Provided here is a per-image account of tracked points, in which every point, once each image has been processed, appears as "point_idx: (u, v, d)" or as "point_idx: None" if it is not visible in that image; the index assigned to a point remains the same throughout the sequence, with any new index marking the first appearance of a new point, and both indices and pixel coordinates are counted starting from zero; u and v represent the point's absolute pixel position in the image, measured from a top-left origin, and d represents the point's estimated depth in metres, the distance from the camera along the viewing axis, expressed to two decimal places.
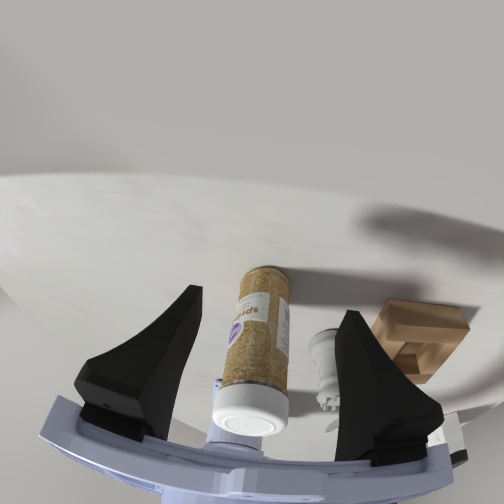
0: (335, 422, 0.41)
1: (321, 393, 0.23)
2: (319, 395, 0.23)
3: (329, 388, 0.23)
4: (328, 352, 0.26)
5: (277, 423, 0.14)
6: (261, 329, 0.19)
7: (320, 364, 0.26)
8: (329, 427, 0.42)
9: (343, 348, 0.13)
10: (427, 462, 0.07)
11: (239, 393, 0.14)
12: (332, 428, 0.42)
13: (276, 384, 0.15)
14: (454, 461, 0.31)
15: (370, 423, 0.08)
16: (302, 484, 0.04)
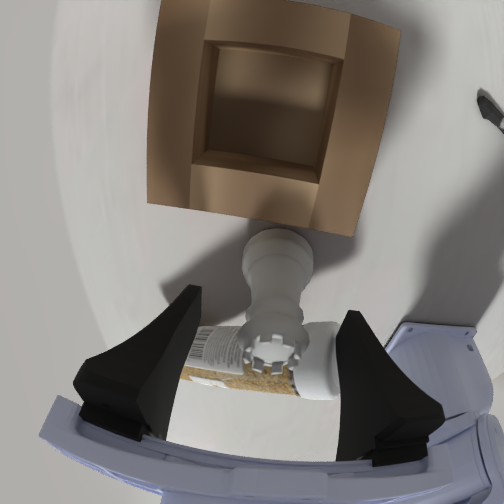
0: None
1: None
2: None
3: (242, 346, 0.13)
4: (251, 287, 0.16)
5: (329, 358, 0.13)
6: (233, 385, 0.16)
7: None
8: None
9: (344, 348, 0.13)
10: (427, 462, 0.07)
11: (315, 399, 0.14)
12: None
13: (286, 374, 0.14)
14: None
15: (371, 423, 0.08)
16: (302, 484, 0.04)
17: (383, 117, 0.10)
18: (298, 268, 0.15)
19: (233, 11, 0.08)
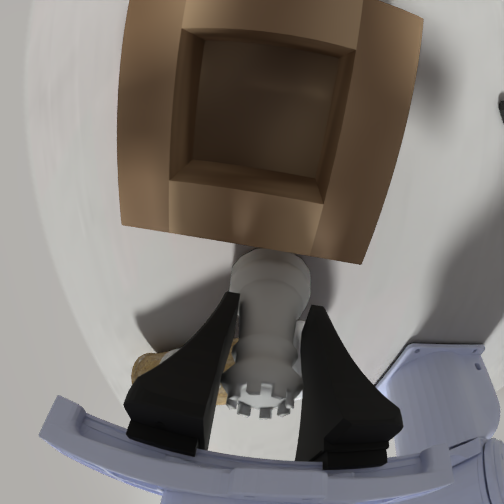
0: None
1: None
2: None
3: None
4: (239, 315, 0.14)
5: (300, 355, 0.14)
6: None
7: None
8: None
9: (306, 344, 0.13)
10: (427, 462, 0.07)
11: (296, 399, 0.14)
12: None
13: None
14: None
15: (322, 423, 0.08)
16: (302, 484, 0.04)
17: (403, 123, 0.08)
18: (293, 296, 0.13)
19: None
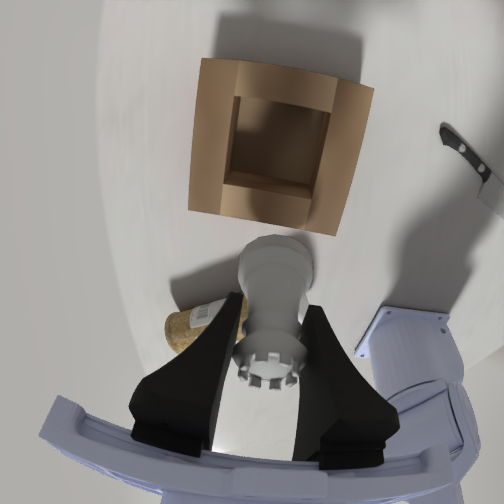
0: None
1: None
2: None
3: None
4: None
5: None
6: None
7: None
8: None
9: (303, 344, 0.13)
10: (427, 462, 0.07)
11: None
12: None
13: None
14: None
15: (319, 423, 0.08)
16: (302, 484, 0.04)
17: (357, 153, 0.16)
18: (296, 277, 0.14)
19: (255, 75, 0.14)
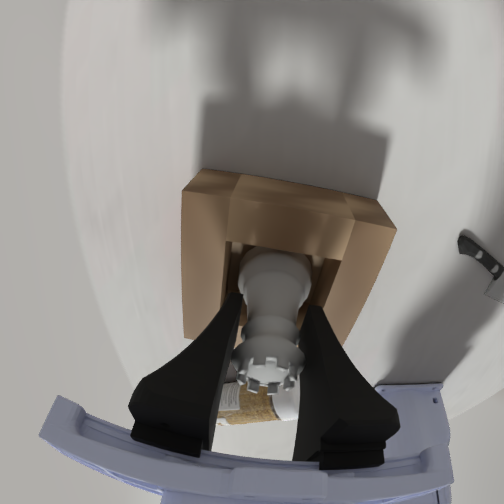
0: None
1: None
2: None
3: None
4: None
5: (293, 389, 0.21)
6: (233, 419, 0.23)
7: None
8: None
9: (304, 344, 0.13)
10: (427, 462, 0.07)
11: (289, 418, 0.21)
12: None
13: (268, 403, 0.21)
14: None
15: (319, 423, 0.08)
16: (302, 484, 0.04)
17: (365, 297, 0.14)
18: (295, 284, 0.15)
19: (251, 217, 0.13)
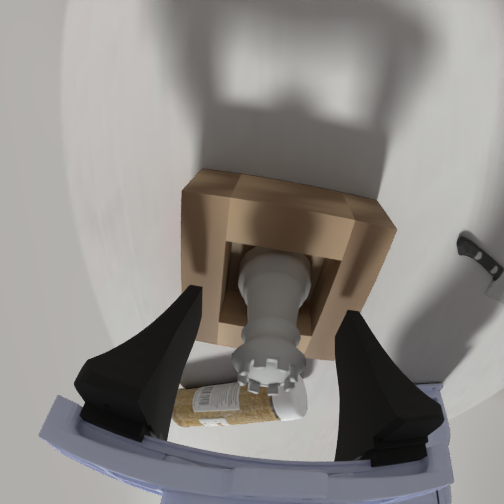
0: None
1: None
2: None
3: None
4: None
5: (293, 389, 0.21)
6: (232, 419, 0.23)
7: None
8: None
9: (343, 348, 0.13)
10: (427, 462, 0.07)
11: (289, 419, 0.21)
12: None
13: (268, 403, 0.21)
14: None
15: (370, 423, 0.08)
16: (302, 484, 0.04)
17: (365, 297, 0.14)
18: (295, 284, 0.15)
19: (251, 217, 0.13)
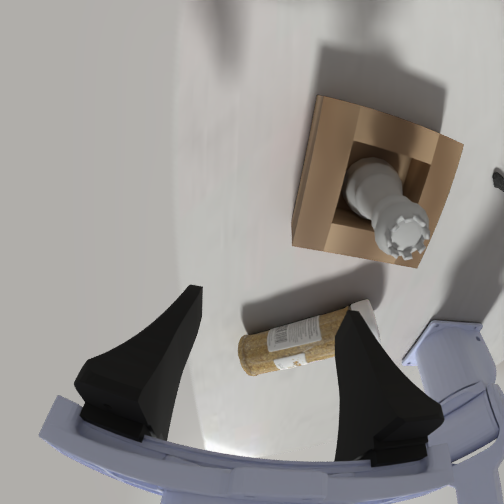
0: None
1: (384, 251, 0.14)
2: (389, 254, 0.14)
3: (376, 239, 0.14)
4: (358, 204, 0.17)
5: (373, 312, 0.23)
6: (312, 353, 0.24)
7: None
8: None
9: (343, 348, 0.13)
10: (427, 462, 0.07)
11: None
12: None
13: None
14: None
15: (370, 423, 0.08)
16: (302, 484, 0.04)
17: (445, 200, 0.16)
18: (397, 185, 0.16)
19: (374, 122, 0.14)
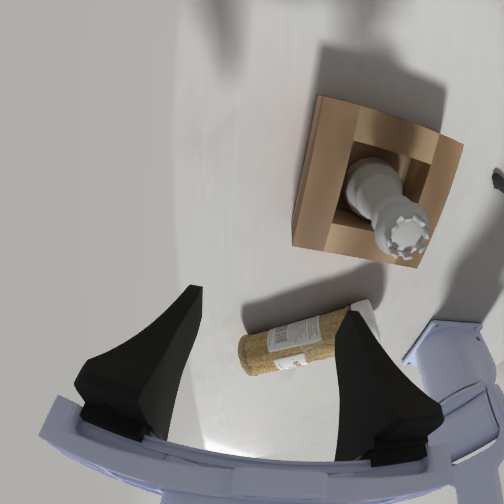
0: None
1: (384, 251, 0.14)
2: (389, 254, 0.14)
3: (376, 239, 0.14)
4: (358, 204, 0.17)
5: (373, 312, 0.23)
6: (312, 353, 0.24)
7: None
8: None
9: (343, 348, 0.13)
10: (427, 462, 0.07)
11: None
12: None
13: None
14: None
15: (370, 423, 0.08)
16: (302, 484, 0.04)
17: (445, 200, 0.16)
18: (397, 185, 0.16)
19: (374, 122, 0.14)
